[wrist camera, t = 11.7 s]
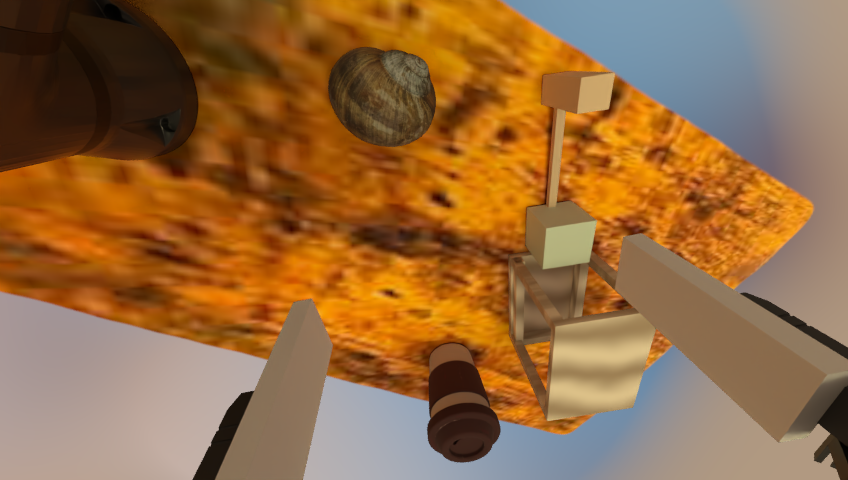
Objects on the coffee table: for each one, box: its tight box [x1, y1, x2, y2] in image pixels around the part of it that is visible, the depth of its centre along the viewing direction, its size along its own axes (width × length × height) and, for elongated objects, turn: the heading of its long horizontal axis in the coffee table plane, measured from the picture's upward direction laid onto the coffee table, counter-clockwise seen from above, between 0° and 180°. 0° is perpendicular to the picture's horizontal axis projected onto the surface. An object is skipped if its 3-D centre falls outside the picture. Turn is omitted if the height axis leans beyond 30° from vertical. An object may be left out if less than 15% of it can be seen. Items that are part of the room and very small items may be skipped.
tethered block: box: [525, 71, 615, 269], centre depth 35 cm, size 22×6×8 cm, turn 8°
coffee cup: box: [427, 343, 500, 462], centre depth 46 cm, size 10×10×15 cm
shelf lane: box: [509, 250, 656, 421], centre depth 41 cm, size 16×11×15 cm
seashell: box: [328, 47, 436, 147], centre depth 30 cm, size 11×9×8 cm
